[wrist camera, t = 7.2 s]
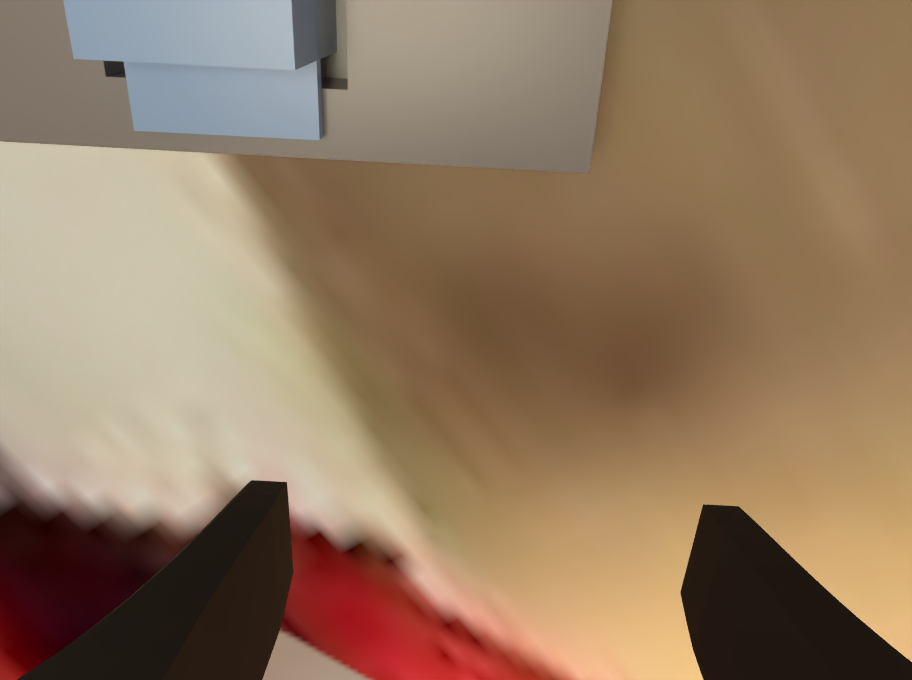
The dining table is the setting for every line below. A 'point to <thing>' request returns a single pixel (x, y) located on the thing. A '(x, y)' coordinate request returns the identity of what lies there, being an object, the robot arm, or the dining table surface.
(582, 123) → the grey flat block
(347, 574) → the dining table surface
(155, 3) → the servo
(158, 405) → the dining table surface
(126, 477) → the dining table surface
